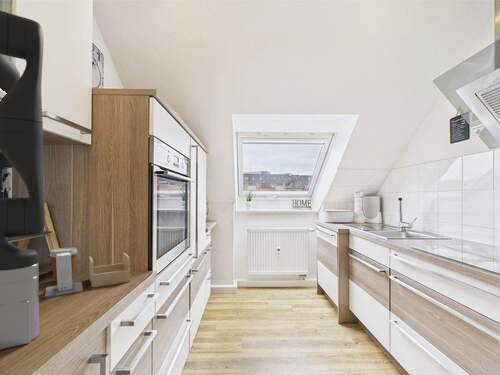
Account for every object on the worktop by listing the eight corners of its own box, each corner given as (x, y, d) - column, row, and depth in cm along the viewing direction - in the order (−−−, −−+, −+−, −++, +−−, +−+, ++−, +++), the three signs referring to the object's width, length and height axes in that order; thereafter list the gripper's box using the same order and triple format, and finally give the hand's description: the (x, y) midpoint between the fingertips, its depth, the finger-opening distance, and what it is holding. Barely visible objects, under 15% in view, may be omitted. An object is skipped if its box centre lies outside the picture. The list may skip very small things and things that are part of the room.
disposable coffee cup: (53, 278, 122) (52, 248, 122) (79, 275, 125) (79, 246, 125) (46, 285, 113) (46, 252, 113) (75, 281, 116) (75, 250, 116)
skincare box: (72, 289, 105) (72, 254, 105) (57, 292, 102) (57, 256, 103) (70, 285, 110) (70, 251, 110) (56, 287, 107) (55, 253, 108)
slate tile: (83, 291, 104) (83, 289, 104) (44, 298, 99) (44, 296, 99) (81, 283, 114) (81, 281, 114) (46, 289, 108) (46, 287, 108)
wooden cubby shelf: (130, 281, 115) (130, 257, 115) (92, 287, 108) (91, 262, 109) (124, 273, 126) (124, 252, 126) (89, 278, 120) (89, 256, 120)
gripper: (-10, 154, 96) (-10, 205, 95) (-22, 147, 83) (-21, 206, 83) (19, 155, 100) (20, 204, 99) (12, 149, 87) (13, 205, 87)
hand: (1, 205), depth 91 cm, fingers open, 8 cm apart
